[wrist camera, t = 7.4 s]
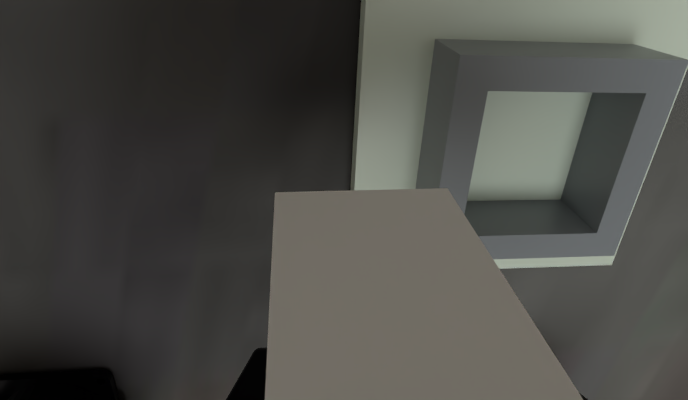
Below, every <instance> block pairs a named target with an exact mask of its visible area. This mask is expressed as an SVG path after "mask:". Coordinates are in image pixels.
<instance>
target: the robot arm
mask: <svg viewBox="0 0 688 400" xmlns="http://www.w3.org/2000/svg"><path fill="white" fill-rule="evenodd" d="M266 364H267V348H257V349H256V350H255V351H254V352H253V354H252V356H251V357H250V359H249V361H248V363H247V364H246V366H245V368H244V370H243V371H242V373H241V375H240V376H239V378H238V380H237V382H236V383H235V385H234V387H233V389H232V390H231V392H230V394H229V395H228V397H227V399H226V400H265V384H266ZM579 394H580V393H579ZM580 395H581V394H580ZM581 397H582V399H583V400H588V399H586V398H585V397H584V396H583V395H581ZM0 400H119V398H118V394H117V390H116V387H115V383H114V379H113V375H112V374H111V372H109V371H107V370H103V369H99V370H80V371H62V372H43V373H25V374H6V375H0Z"/></svg>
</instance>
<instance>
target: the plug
mask: <svg viewBox="0 0 688 400" xmlns="http://www.w3.org/2000/svg"><path fill="white" fill-rule="evenodd" d="M265 400H583V399H582V397H581V395H580V394H579V392H578V391H577V389H576V388H575V386H574V385H573V383H572V381H571V380H570V378H569V377H568V375H567V374H566V372H565V371H564V369H563V367H562V366H561V364H560V363H559V361H558V360H557V358H556V357H555V355H554V353H553V352H552V350H551V349H550V347H549V346H548V344H547V343H546V341H545V339H544V338H543V336H542V335H541V333H540V332H539V330H538V329H537V327H536V325H535V324H534V322H533V321H532V319H531V318H530V316H529V315H528V313H527V311H526V310H525V308H524V307H523V305H522V304H521V302H520V301H519V299H518V297H517V296H516V294H515V293H514V291H513V290H512V288H511V287H510V285H509V283H508V282H507V280H506V279H505V277H504V276H503V274H502V273H501V271H500V269H499V268H498V266H497V265H496V263H495V262H494V260H493V259H492V257H491V255H490V254H489V252H488V251H487V249H486V248H485V246H484V245H483V243H482V241H481V240H480V238H479V237H478V235H477V234H476V232H475V231H474V229H473V227H472V226H471V224H470V223H469V221H468V220H467V218H466V217H465V215H464V213H463V212H462V210H461V209H460V207H459V206H458V204H457V203H456V201H455V199H454V198H453V196H452V195H451V193H450V192H449V190H448V188H434V189H393V190H352V191H311V192H275V202H274V222H273V242H272V263H271V283H270V303H269V323H268V344H267V364H266V384H265Z"/></svg>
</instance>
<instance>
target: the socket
mask: <svg viewBox="0 0 688 400" xmlns="http://www.w3.org/2000/svg"><path fill="white" fill-rule="evenodd" d="M687 68H688V0H361V11H360V29H359V46H358V64H357V82H356V99H355V117H354V135H353V153H352V170H351V188H350V191H352V190H393V189H434V188H448V190H449V192H450V193H451V195H452V196H453V198H454V199H455V201H456V203H457V204H458V206H459V207H460V209H461V210H462V212H463V213H464V215H465V217H466V218H467V220H468V221H469V223H470V224H471V226H472V227H473V229H474V231H475V232H476V234H477V235H478V237H479V238H480V240H481V241H482V243H483V245H484V246H485V248H486V249H487V251H488V252H489V254H490V255H491V257H492V259H493V260H494V262H495V263H496V265H497V266H498V268H499V269H502V268H532V267H563V266H593V265H612V262H613V260H614V257H615V255H616V252H617V249H618V247H619V244H620V242H621V239H622V237H623V234H624V231H625V229H626V226H627V224H628V221H629V218H630V216H631V213H632V211H633V208H634V206H635V203H636V200H637V198H638V195H639V193H640V190H641V187H642V185H643V182H644V180H645V177H646V174H647V172H648V169H649V167H650V164H651V162H652V159H653V156H654V154H655V151H656V149H657V146H658V143H659V141H660V138H661V136H662V133H663V131H664V128H665V125H666V123H667V120H668V118H669V115H670V112H671V110H672V107H673V105H674V102H675V99H676V97H677V94H678V92H679V89H680V87H681V84H682V81H683V79H684V76H685V74H686V71H687Z"/></svg>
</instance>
